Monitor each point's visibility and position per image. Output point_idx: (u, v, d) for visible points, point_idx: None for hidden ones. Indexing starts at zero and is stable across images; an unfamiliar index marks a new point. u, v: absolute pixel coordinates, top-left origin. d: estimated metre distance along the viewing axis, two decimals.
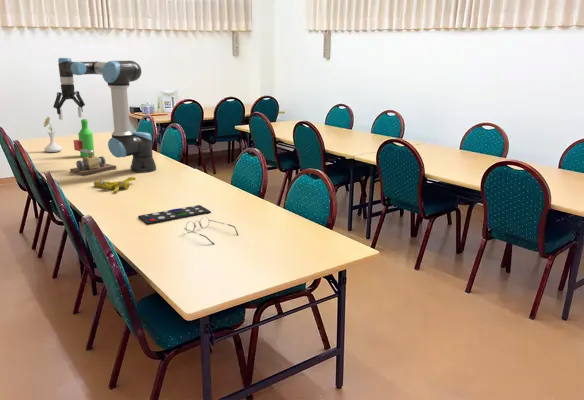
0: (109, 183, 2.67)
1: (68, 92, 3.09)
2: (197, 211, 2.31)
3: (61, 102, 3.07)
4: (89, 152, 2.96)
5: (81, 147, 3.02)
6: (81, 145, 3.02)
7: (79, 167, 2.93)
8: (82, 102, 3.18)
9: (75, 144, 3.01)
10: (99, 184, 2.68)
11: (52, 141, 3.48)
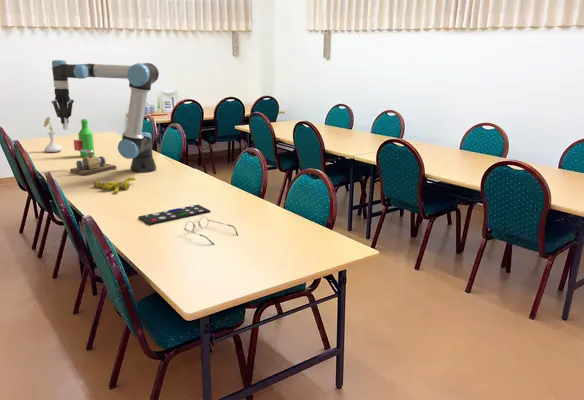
0: (109, 183, 2.66)
1: (62, 97, 2.87)
2: (197, 211, 2.32)
3: (61, 110, 2.89)
4: (89, 152, 2.96)
5: (81, 147, 3.02)
6: (81, 145, 3.02)
7: (79, 167, 2.93)
8: (70, 112, 2.93)
9: (75, 144, 3.01)
10: (99, 185, 2.67)
11: (52, 141, 3.48)
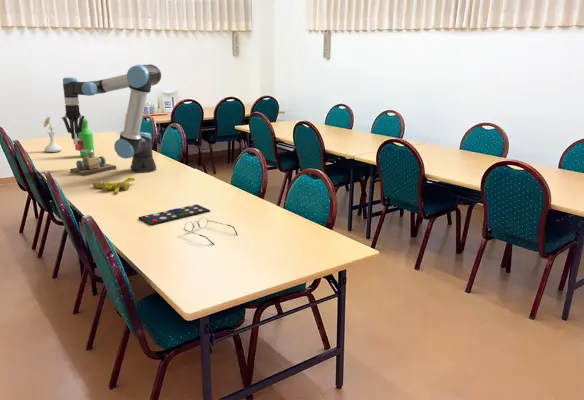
0: (109, 184, 2.66)
1: (72, 113, 2.95)
2: (196, 210, 2.32)
3: (71, 126, 2.96)
4: (89, 152, 2.96)
5: (82, 147, 3.02)
6: (81, 145, 3.02)
7: (79, 167, 2.93)
8: (80, 128, 3.00)
9: None
10: (98, 185, 2.66)
11: (52, 141, 3.48)
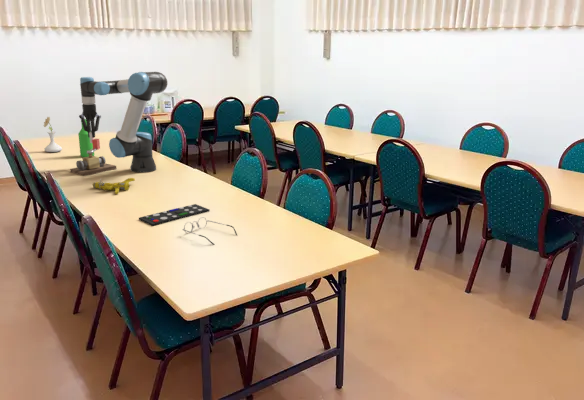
0: (108, 184, 2.65)
1: (88, 112, 3.01)
2: (196, 210, 2.33)
3: (87, 125, 3.03)
4: (87, 152, 2.96)
5: (95, 146, 3.06)
6: (95, 145, 3.05)
7: (79, 167, 2.93)
8: (95, 127, 3.03)
9: None
10: (98, 185, 2.65)
11: (52, 141, 3.48)
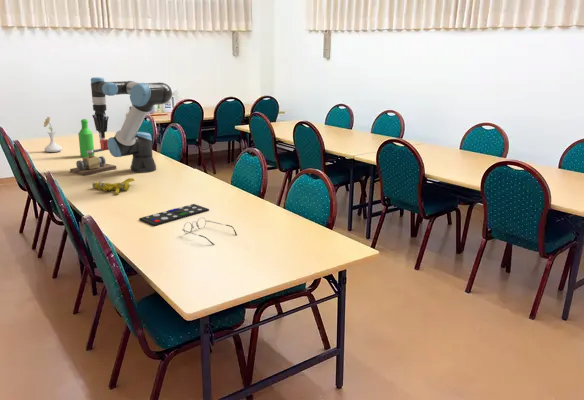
0: (108, 185, 2.64)
1: (98, 112, 3.01)
2: (196, 210, 2.33)
3: (97, 125, 3.04)
4: None
5: (102, 147, 3.04)
6: (102, 145, 3.04)
7: (79, 167, 2.93)
8: (102, 128, 3.01)
9: None
10: (98, 186, 2.64)
11: (52, 141, 3.48)
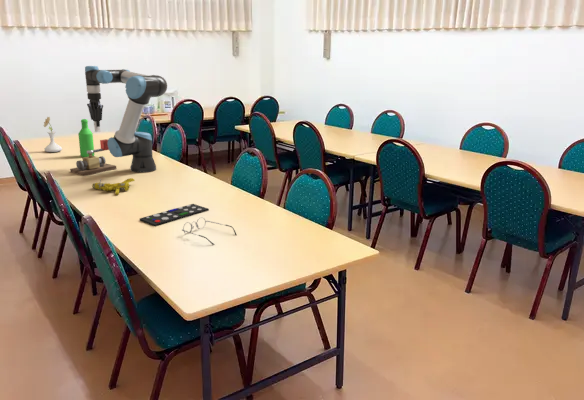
0: (108, 185, 2.64)
1: (92, 101, 3.01)
2: (196, 209, 2.33)
3: None
4: None
5: (102, 147, 3.04)
6: (102, 145, 3.04)
7: (79, 167, 2.93)
8: (97, 116, 3.01)
9: None
10: (98, 186, 2.64)
11: (52, 141, 3.48)
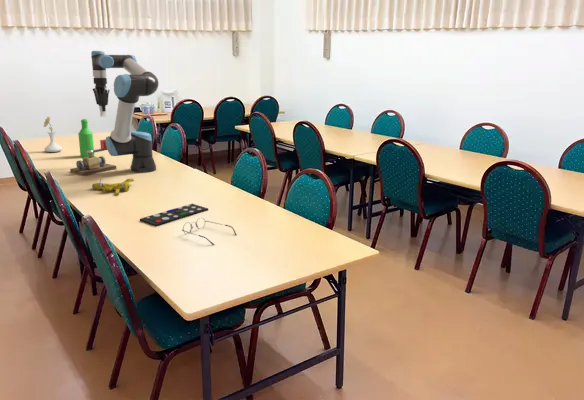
0: (108, 185, 2.63)
1: (98, 86, 3.04)
2: (195, 209, 2.34)
3: (98, 98, 3.07)
4: None
5: (102, 147, 3.04)
6: (102, 145, 3.04)
7: (79, 167, 2.93)
8: (103, 101, 3.05)
9: None
10: (98, 186, 2.63)
11: (52, 141, 3.48)
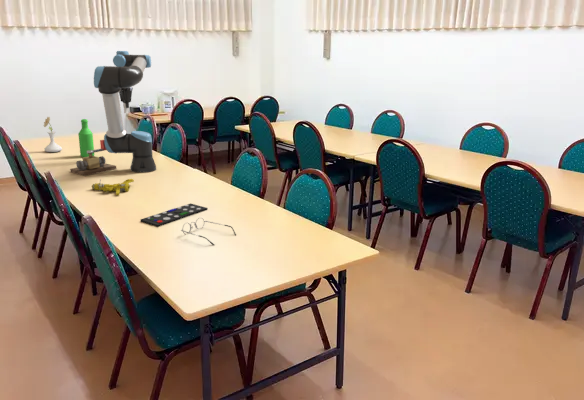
0: (108, 186, 2.62)
1: None
2: (195, 209, 2.34)
3: (122, 95, 3.26)
4: None
5: (102, 147, 3.04)
6: (102, 145, 3.04)
7: (79, 167, 2.93)
8: (127, 98, 3.23)
9: None
10: (98, 187, 2.62)
11: (52, 141, 3.48)
